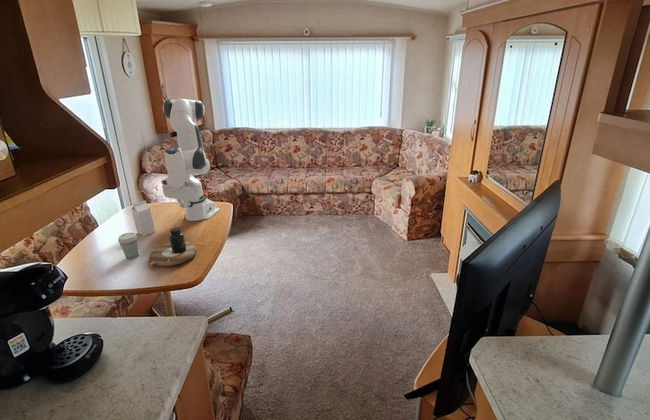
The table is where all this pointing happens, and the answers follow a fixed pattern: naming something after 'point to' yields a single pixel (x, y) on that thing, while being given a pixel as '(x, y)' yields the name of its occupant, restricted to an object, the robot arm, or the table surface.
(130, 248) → the coffee cup
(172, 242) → the supplement bottle
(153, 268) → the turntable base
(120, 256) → the table surface
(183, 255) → the turntable
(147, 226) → the milk carton
